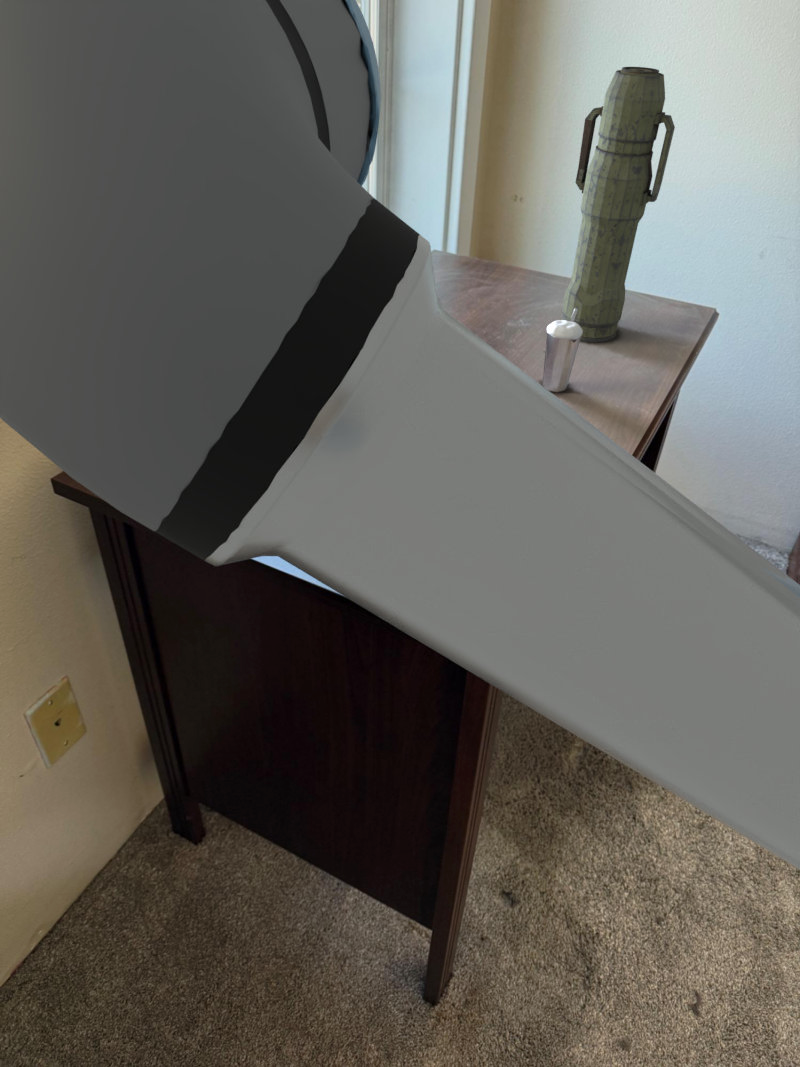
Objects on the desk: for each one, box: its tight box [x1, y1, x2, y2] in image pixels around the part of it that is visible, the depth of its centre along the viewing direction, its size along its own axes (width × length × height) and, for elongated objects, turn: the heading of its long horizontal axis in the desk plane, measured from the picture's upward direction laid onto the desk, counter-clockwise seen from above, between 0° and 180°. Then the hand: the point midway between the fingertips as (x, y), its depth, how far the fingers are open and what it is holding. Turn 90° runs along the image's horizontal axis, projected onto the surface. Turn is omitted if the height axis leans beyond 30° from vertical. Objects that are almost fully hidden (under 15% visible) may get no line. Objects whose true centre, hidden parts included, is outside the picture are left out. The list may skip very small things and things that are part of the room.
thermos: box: [561, 66, 676, 343], centre depth 106 cm, size 9×12×35 cm
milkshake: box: [541, 308, 583, 393], centre depth 98 cm, size 4×5×10 cm
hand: (466, 502), depth 63 cm, fingers open, 13 cm apart
